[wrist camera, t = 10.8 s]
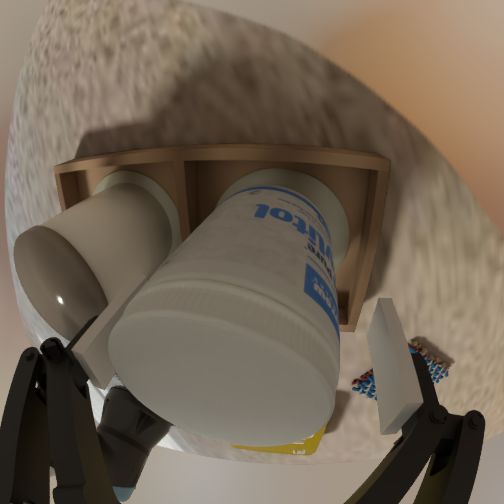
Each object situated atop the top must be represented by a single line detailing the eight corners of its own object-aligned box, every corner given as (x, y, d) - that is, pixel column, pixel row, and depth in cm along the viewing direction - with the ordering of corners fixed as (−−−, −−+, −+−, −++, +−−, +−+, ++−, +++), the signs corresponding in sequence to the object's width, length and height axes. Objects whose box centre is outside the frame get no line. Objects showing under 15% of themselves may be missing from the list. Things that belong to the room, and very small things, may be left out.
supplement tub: (353, 219, 20) (402, 389, 7) (292, 304, 24) (268, 461, 12) (238, 158, 19) (108, 252, 6) (196, 255, 24) (103, 390, 11)
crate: (100, 278, 29) (86, 292, 27) (73, 159, 22) (53, 166, 20) (351, 310, 24) (354, 332, 22) (379, 153, 18) (390, 160, 15)
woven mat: (393, 400, 32) (395, 411, 30) (347, 379, 30) (348, 392, 29) (450, 362, 26) (454, 374, 25) (411, 333, 25) (415, 346, 23)
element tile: (223, 386, 35) (214, 413, 31) (329, 396, 33) (328, 425, 28) (234, 428, 42) (228, 449, 38) (315, 436, 39) (313, 458, 35)
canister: (106, 265, 27) (43, 329, 17) (88, 183, 22) (1, 230, 13) (180, 276, 25) (121, 361, 16) (167, 178, 21) (73, 235, 11)
